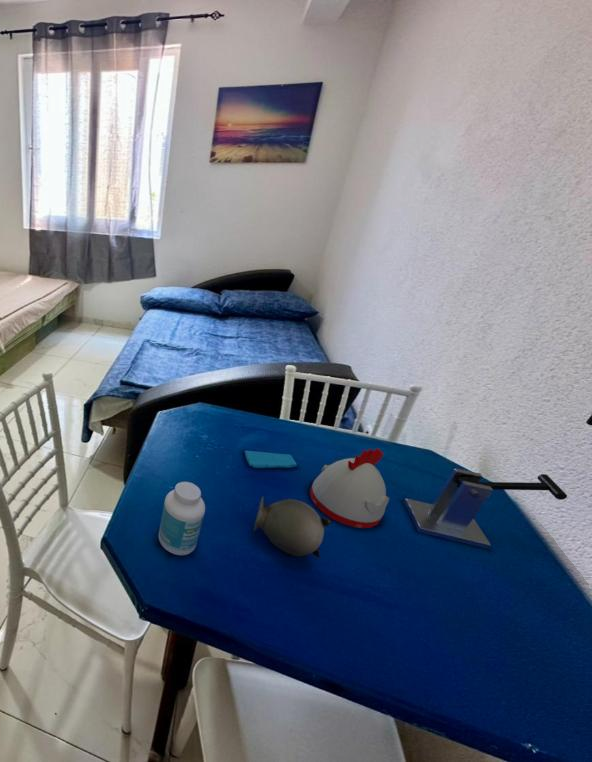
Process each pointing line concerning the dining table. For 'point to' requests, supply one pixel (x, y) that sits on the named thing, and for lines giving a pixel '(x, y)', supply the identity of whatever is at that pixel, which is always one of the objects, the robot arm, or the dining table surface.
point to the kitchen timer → (352, 490)
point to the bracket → (453, 511)
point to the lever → (521, 485)
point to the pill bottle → (182, 519)
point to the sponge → (269, 460)
